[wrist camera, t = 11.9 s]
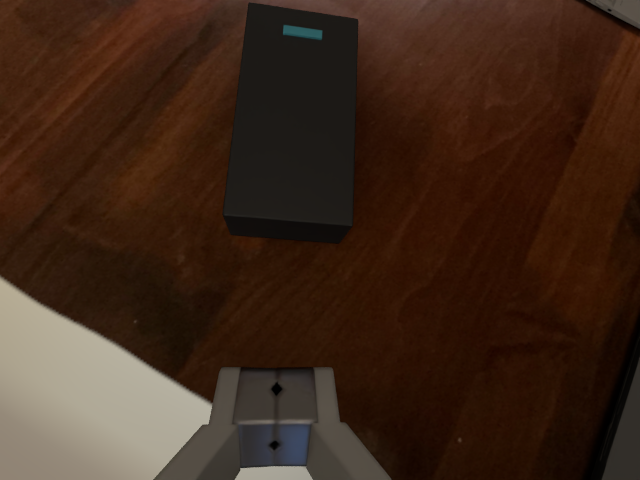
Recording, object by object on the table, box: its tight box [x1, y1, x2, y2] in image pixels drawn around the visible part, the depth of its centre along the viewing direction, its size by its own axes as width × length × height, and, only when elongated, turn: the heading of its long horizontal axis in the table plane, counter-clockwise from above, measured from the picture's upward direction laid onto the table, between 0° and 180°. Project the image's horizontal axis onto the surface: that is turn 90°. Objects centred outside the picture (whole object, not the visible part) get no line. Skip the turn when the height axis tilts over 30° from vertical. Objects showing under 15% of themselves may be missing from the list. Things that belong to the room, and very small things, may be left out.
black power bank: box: [223, 3, 358, 243], centre depth 23 cm, size 4×7×14 cm
